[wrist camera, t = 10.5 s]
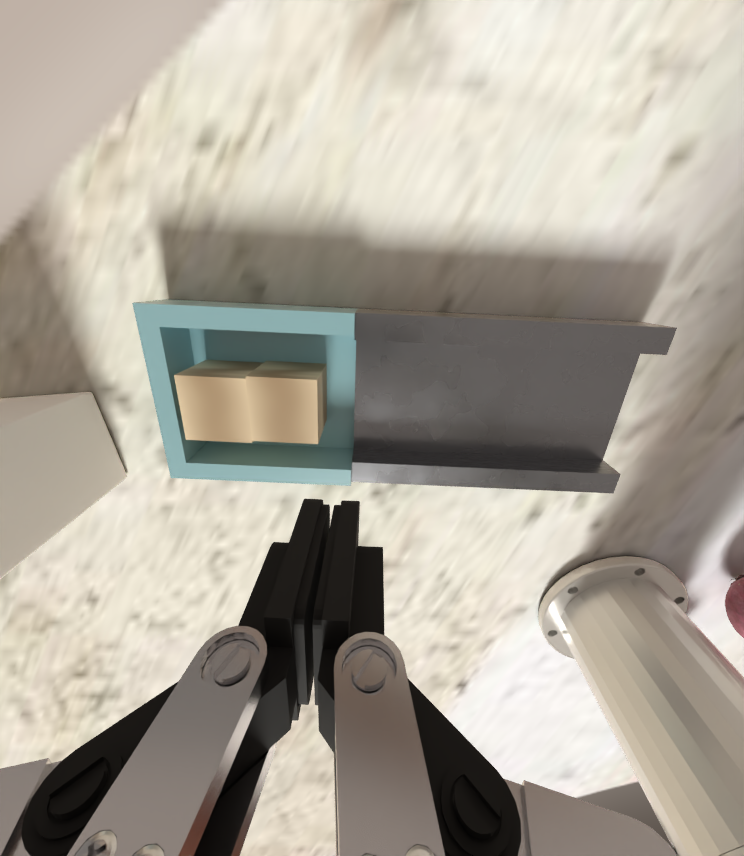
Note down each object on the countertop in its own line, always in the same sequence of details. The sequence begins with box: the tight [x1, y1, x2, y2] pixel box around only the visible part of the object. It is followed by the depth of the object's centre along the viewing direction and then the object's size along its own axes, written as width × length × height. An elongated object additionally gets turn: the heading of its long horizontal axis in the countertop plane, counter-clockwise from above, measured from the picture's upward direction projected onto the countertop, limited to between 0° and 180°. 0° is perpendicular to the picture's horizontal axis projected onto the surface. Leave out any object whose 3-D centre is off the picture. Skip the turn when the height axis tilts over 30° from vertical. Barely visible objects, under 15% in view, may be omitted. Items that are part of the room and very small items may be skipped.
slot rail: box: [351, 308, 677, 493], centre depth 23 cm, size 18×11×3 cm, turn 88°
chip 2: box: [245, 361, 327, 444], centre depth 22 cm, size 4×4×4 cm
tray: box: [133, 299, 358, 486], centre depth 22 cm, size 12×11×4 cm
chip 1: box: [174, 360, 263, 443], centre depth 22 cm, size 4×4×4 cm
